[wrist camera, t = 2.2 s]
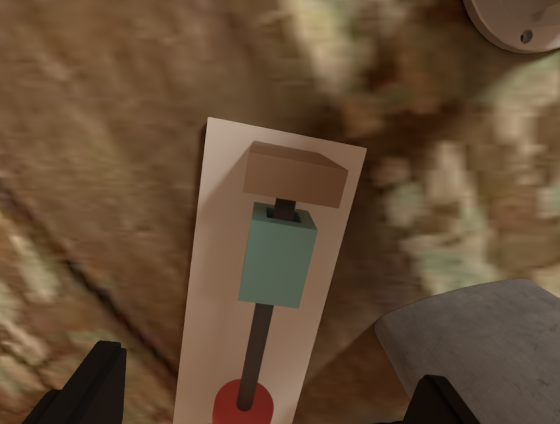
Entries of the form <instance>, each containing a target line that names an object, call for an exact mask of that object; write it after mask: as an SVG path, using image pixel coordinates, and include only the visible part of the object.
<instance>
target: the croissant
mask: <svg viewBox="0 0 560 424" xmlns="http://www.w3.org/2000/svg"><path fill="white" fill-rule="evenodd" d="M402 422H403V421H399V422H395V423H382V424H402Z"/></svg>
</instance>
